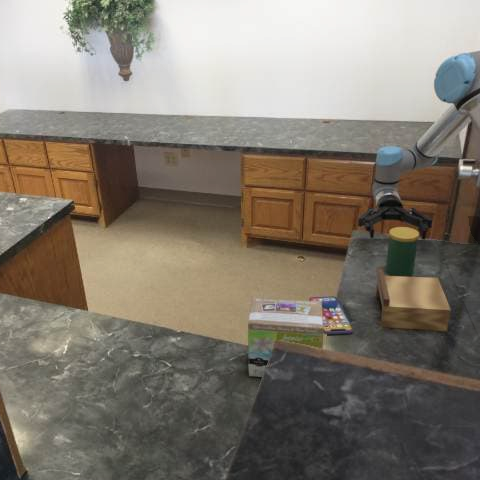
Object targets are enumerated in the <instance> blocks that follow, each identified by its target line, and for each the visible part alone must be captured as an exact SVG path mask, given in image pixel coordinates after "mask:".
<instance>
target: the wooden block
mask: <svg viewBox="0 0 480 480" xmlns="http://www.w3.org/2000/svg"><path fill="white" fill-rule="evenodd" d="M376 274H377V275H376V283H375V291H374V292H375V293H374V295H375V296H374V297H375V299H380V303H381V315H380V317H381V318H380V327H381V328H391V329H406V330H418V331H419V330H420V331H421V330H422V331H434V332H435V331H436V332H448V328H449V323H450V318H451V317H450V316H451V311H452V309H451V307H450V305H449V302H448V299H447V297H446V295H445V292H444V290H443V286H442V284H441V282H440V280H439V278H438V277H427V276H426V277H422V276H409V277H403V276H392V275H385V272H384V269H383V268H377V272H376Z"/></svg>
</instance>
